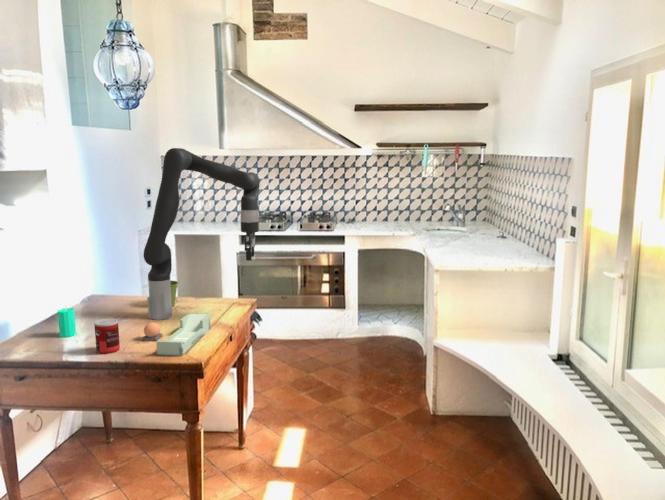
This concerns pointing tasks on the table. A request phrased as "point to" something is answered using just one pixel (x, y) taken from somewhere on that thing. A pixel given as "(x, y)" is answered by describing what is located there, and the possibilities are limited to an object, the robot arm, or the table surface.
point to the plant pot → (173, 290)
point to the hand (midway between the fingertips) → (250, 258)
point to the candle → (66, 322)
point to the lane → (185, 335)
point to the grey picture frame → (152, 338)
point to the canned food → (107, 336)
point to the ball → (152, 329)
